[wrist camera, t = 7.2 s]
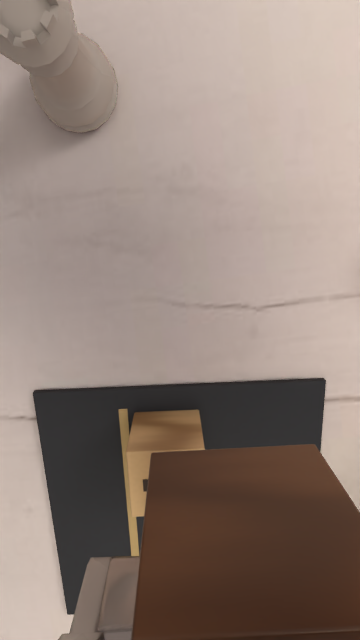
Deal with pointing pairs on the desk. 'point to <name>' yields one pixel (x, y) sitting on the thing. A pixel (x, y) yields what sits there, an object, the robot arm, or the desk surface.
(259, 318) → the desk surface
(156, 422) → the slotted cardboard carton
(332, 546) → the dark brown wooden block
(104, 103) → the rook chess piece
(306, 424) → the dark grey square board
